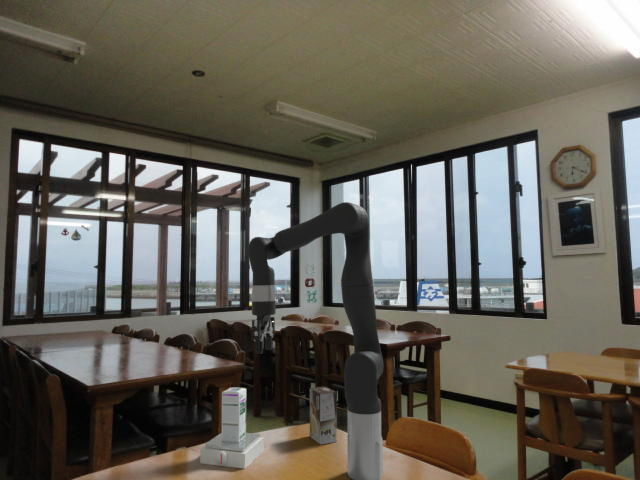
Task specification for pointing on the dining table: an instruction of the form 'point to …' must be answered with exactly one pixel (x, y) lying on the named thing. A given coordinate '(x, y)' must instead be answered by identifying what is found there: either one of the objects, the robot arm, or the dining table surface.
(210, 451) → the white square slab
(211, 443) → the pan
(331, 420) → the coffee box
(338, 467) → the dining table surface
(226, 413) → the syrup box
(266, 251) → the robot arm
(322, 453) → the dining table surface
